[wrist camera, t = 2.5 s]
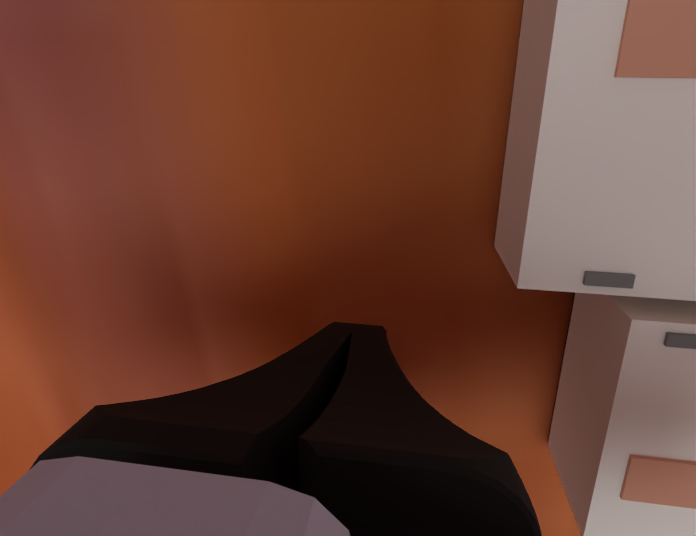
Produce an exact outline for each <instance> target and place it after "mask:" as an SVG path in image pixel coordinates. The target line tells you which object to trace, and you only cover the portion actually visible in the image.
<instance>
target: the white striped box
mask: <svg viewBox="0 0 696 536" xmlns="http://www.w3.org/2000/svg"><path fill="white" fill-rule="evenodd" d="M494 247H495V249H496V250H497V252H498V254H499V256H500V258H501V260H502V261H503V263H504V265H505V267H506V269H507V271H508V272H509V274H510V276H511V278H512V280H513V282H514V283H515V285H516V287H517V288H519V289H533V290H547V291H561V292H575V293H589V294H603V295H617V296H632V297H646V298H660V299H674V300H688V301H696V0H524V5H523V13H522V21H521V29H520V38H519V46H518V54H517V62H516V70H515V79H514V87H513V95H512V103H511V112H510V120H509V128H508V136H507V144H506V153H505V161H504V169H503V177H502V185H501V194H500V202H499V210H498V218H497V226H496V235H495V243H494Z"/></svg>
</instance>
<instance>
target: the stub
mask: <svg viewBox="0 0 696 536" xmlns="http://www.w3.org/2000/svg"><path fill="white" fill-rule="evenodd" d="M548 448H549V451H550V453H551V456H552V459H553V461H554V464H555V467H556V469H557V472H558V475H559V477H560V480H561V482H562V485H563V488H564V490H565V493H566V496H567V498H568V501H569V504H570V506H571V509H572V512H573V514H574V517H575V519H576V522H577V525H578V527H579V530H580V533H581V535H582V536H696V301H688V300H674V299H660V298H646V297H632V296H617V295H603V294H589V293H575V298H574V303H573V309H572V314H571V320H570V325H569V331H568V336H567V342H566V347H565V353H564V358H563V364H562V369H561V375H560V380H559V386H558V391H557V397H556V402H555V408H554V413H553V419H552V424H551V430H550V435H549V441H548Z"/></svg>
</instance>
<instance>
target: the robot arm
mask: <svg viewBox="0 0 696 536" xmlns="http://www.w3.org/2000/svg"><path fill="white" fill-rule="evenodd" d="M0 536H542V535H541V531H540V526H539V523H538V519H537V516H536V513H535V510H534V508H533V505H532V503H531V500H530V498H529V495H528V493H527V491H526V489H525V487H524V484H523V482H522V480H521V478H520V476H519V474H518V472H517V470H516V468H515V466H514V464H513V462H512V460H511V458H510V456H509V455H508V454H507V453H506V452H504V451H502V450H500V449H498V448H496V447H494V446H492V445H490V444H488V443H486V442H484V441H482V440H480V439H478V438H476V437H474V436H472V435H470V434H469V433H467V432H466V431H464V430H462V429H461V428H459V427H458V426H456V425H455V424H453V423H452V422H450V421H449V420H448V419H446V418H445V417H444V416H442V415H441V414H440V413H439V412H438V411H436V410H435V409H434V408H433V407H432V406H431V405H429V404H428V403H427V402H426V401H425V400H424V399H423V398H422V397H421V396H420V395H419V393H418V392H417V391H416V390H415V389H414V387H413V386H412V385H411V383H410V382H409V381H408V379H407V378H406V376H405V375H404V373H403V372H402V370H401V368H400V367H399V365H398V363H397V361H396V359H395V357H394V355H393V353H392V351H391V349H390V346H389V343H388V341H387V337H386V330H385V329H384V328H383V326H375V325H363V324H351V323H339V322H333V323H331V324H329V325H328V326H326V327H325V328H323V329H322V330H321V331H319V332H318V333H316V334H315V335H313V336H312V337H310V338H309V339H307V340H306V341H304V342H303V343H301V344H300V345H298V346H297V347H295V348H293V349H291V350H290V351H288V352H286V353H284V354H283V355H281V356H279V357H277V358H276V359H274V360H272V361H270V362H268V363H266V364H264V365H262V366H260V367H258V368H256V369H253V370H251V371H249V372H246V373H244V374H242V375H239V376H236V377H234V378H231V379H228V380H225V381H221V382H218V383H215V384H212V385H209V386H206V387H203V388H199V389H195V390H191V391H187V392H183V393H179V394H174V395H169V396H164V397H159V398H153V399H147V400H140V401H132V402H124V403H116V404H108V405H97V406H95V407H94V408H92V409H91V410H90V411H89V412H88V413H87V414H86V415H85V416H83V417H82V418H81V419H80V420H79V421H78V422H77V423H76V424H74V425H73V426H72V427H71V428H70V429H69V430H68V431H66V432H65V433H64V434H63V435H62V436H61V437H60V438H59V439H57V440H56V441H55V442H54V443H53V444H52V445H51V446H50V447H48V448H47V449H46V450H45V451H44V452H43V453H42V454H41V455H39V457H38V458H37V460H36V461H35V462H34V464H33V465H32V467H31V468H30V470H29V471H28V472H27V473H26V474H25V475H23V476H22V477H21V478H20V479H19V480H18V481H17V482H16V483H15V484H13V485H12V486H11V487H10V488H9V489H8V490H7V491H6V492H5V493H3V494H2V495H1V496H0Z"/></svg>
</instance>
